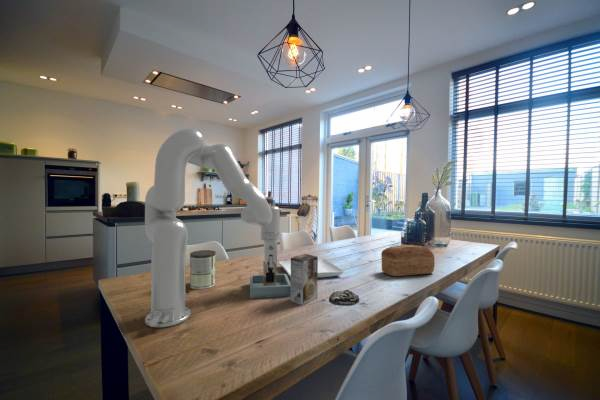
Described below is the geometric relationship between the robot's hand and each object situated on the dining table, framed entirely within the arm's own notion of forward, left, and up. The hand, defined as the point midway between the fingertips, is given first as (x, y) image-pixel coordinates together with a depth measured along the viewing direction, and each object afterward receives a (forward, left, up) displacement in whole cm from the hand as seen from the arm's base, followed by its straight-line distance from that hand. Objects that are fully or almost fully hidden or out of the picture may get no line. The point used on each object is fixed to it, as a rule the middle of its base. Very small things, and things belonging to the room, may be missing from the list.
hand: (269, 279), depth 107 cm
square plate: (+23, -22, -5) cm, 32 cm away
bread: (+14, -72, -5) cm, 74 cm away
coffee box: (-12, -12, -5) cm, 18 cm away
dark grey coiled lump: (-14, -27, -5) cm, 31 cm away
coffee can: (+10, +28, -5) cm, 30 cm away
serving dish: (0, 0, -4) cm, 4 cm away
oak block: (0, 0, -2) cm, 2 cm away
